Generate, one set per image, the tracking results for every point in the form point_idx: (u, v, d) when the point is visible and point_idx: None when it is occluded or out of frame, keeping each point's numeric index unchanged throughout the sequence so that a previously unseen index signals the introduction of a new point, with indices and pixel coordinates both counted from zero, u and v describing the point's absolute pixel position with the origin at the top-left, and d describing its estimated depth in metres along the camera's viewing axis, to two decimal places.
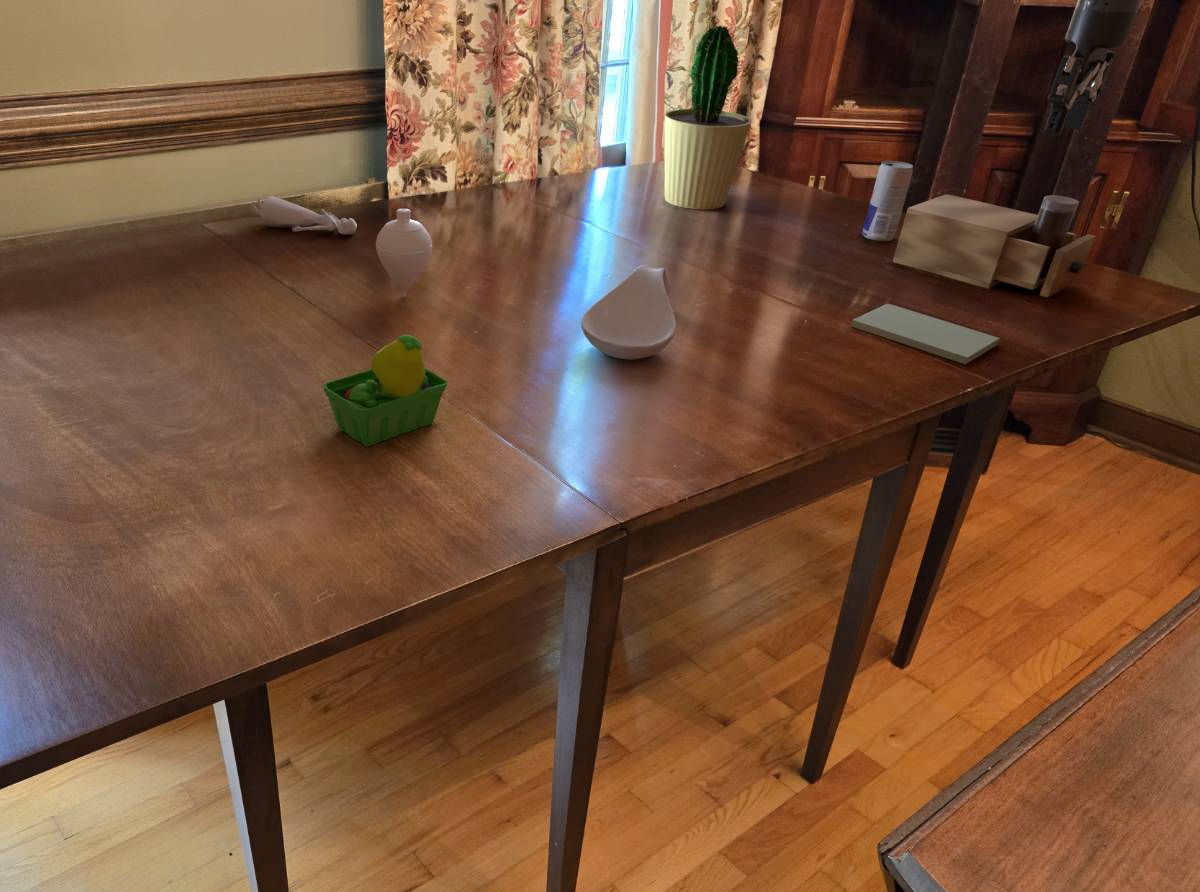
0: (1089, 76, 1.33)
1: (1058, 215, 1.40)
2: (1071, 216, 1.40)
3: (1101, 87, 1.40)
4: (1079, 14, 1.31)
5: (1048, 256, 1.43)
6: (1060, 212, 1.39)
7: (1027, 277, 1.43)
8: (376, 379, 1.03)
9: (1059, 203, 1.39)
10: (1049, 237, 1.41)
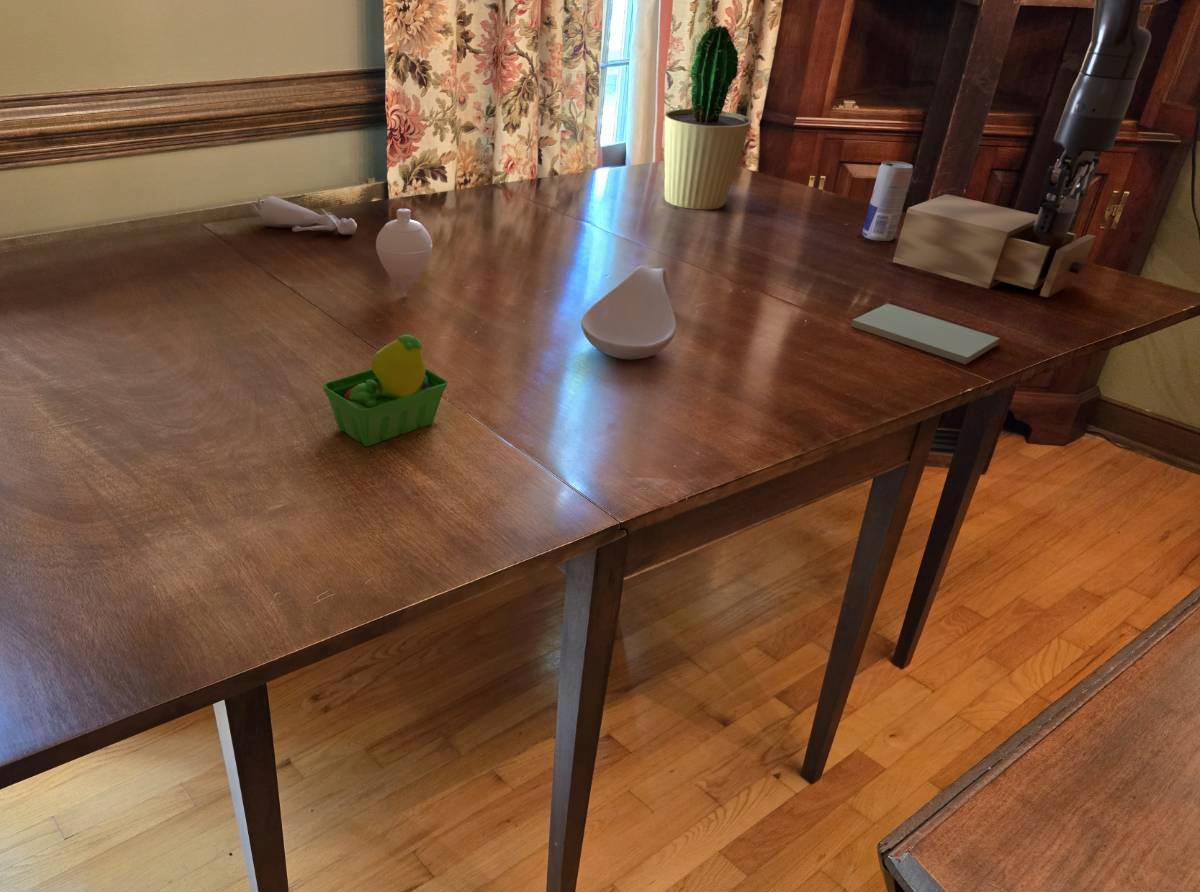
0: (1077, 179, 1.36)
1: None
2: (1071, 216, 1.40)
3: (1084, 191, 1.42)
4: (1067, 118, 1.34)
5: (1048, 256, 1.43)
6: (1060, 212, 1.39)
7: (1027, 277, 1.43)
8: (376, 379, 1.03)
9: None
10: (1049, 237, 1.41)
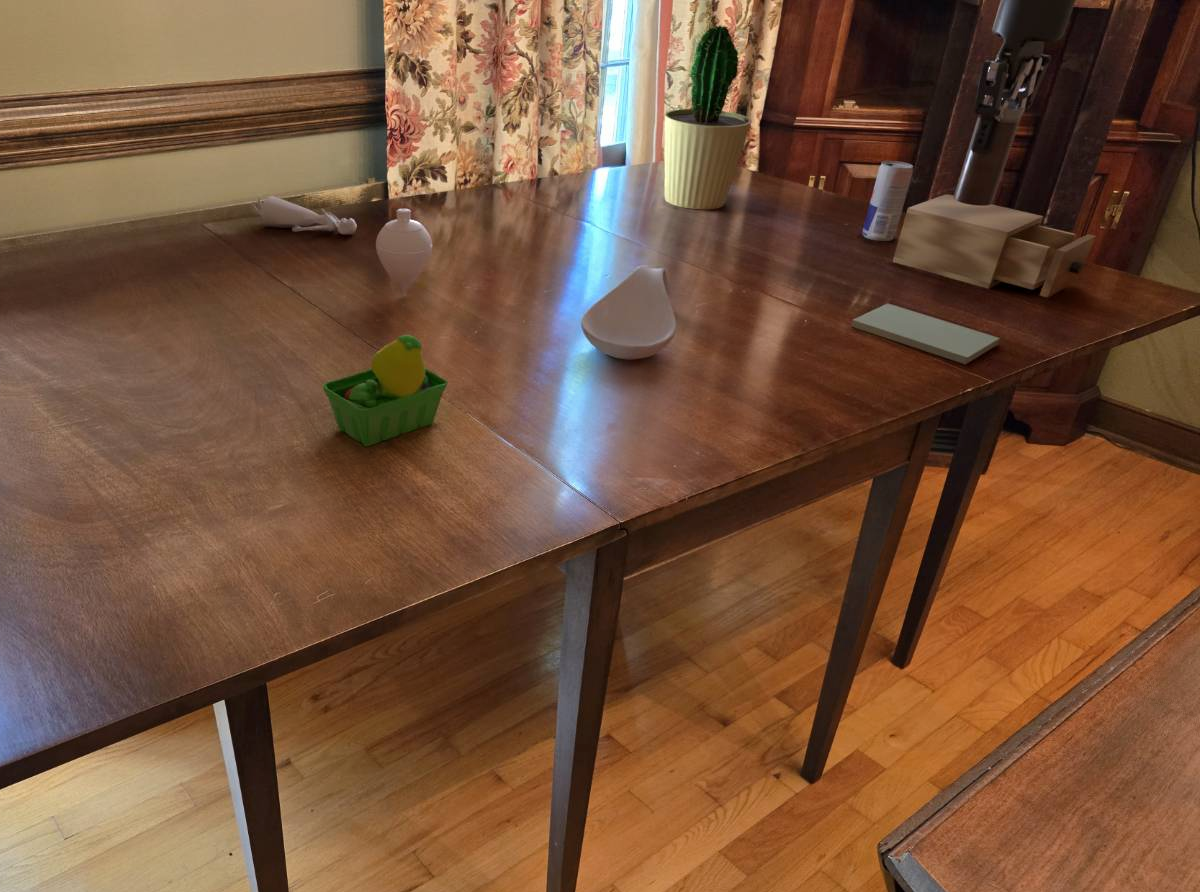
0: (1020, 78, 1.10)
1: None
2: (1014, 127, 1.14)
3: (1032, 97, 1.16)
4: (1007, 0, 1.08)
5: (987, 178, 1.17)
6: (1000, 121, 1.14)
7: (1027, 277, 1.43)
8: (376, 379, 1.03)
9: None
10: None
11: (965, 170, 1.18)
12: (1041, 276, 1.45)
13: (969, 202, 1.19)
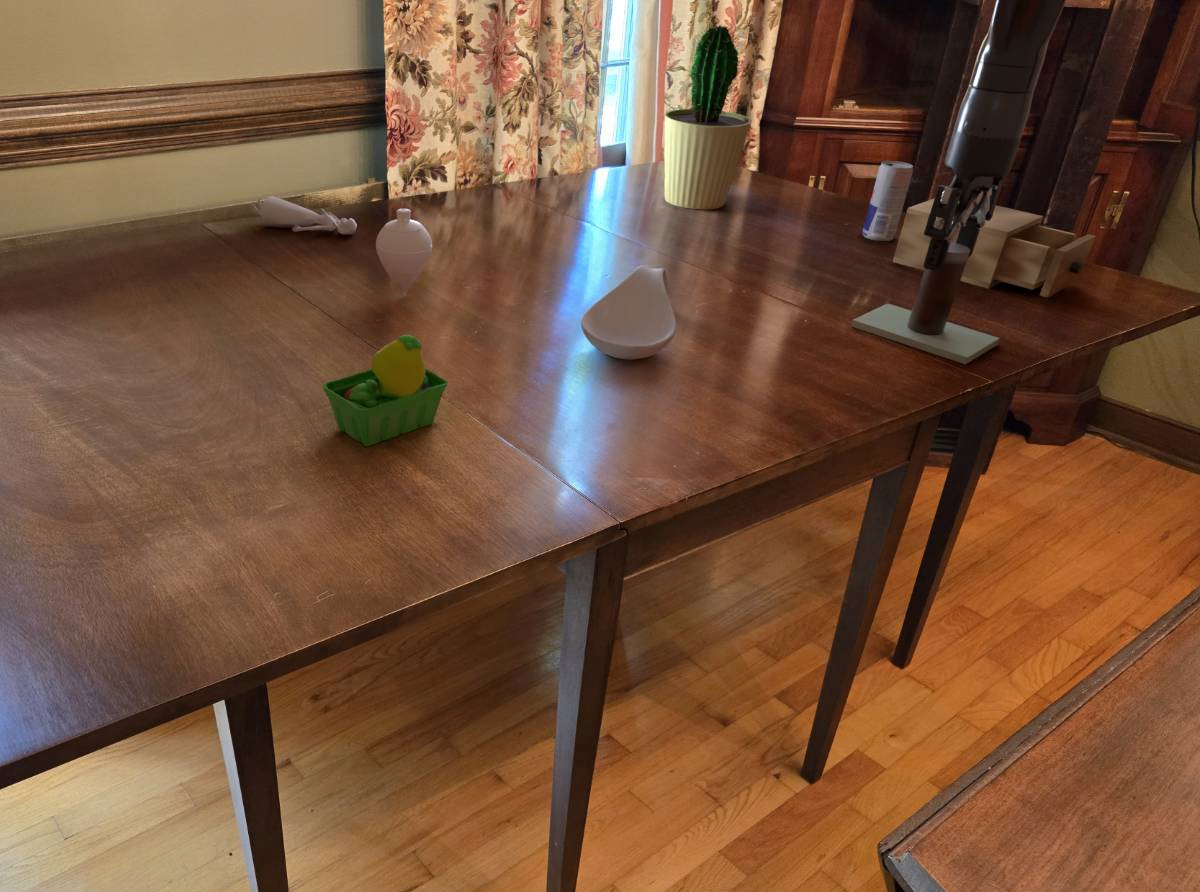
0: (971, 206, 1.17)
1: (947, 265, 1.22)
2: (961, 266, 1.22)
3: (991, 211, 1.23)
4: (956, 138, 1.15)
5: (938, 311, 1.25)
6: (948, 262, 1.22)
7: (1027, 277, 1.43)
8: (376, 379, 1.03)
9: (947, 252, 1.21)
10: (937, 290, 1.24)
11: (918, 302, 1.26)
12: (1041, 276, 1.45)
13: (921, 332, 1.27)
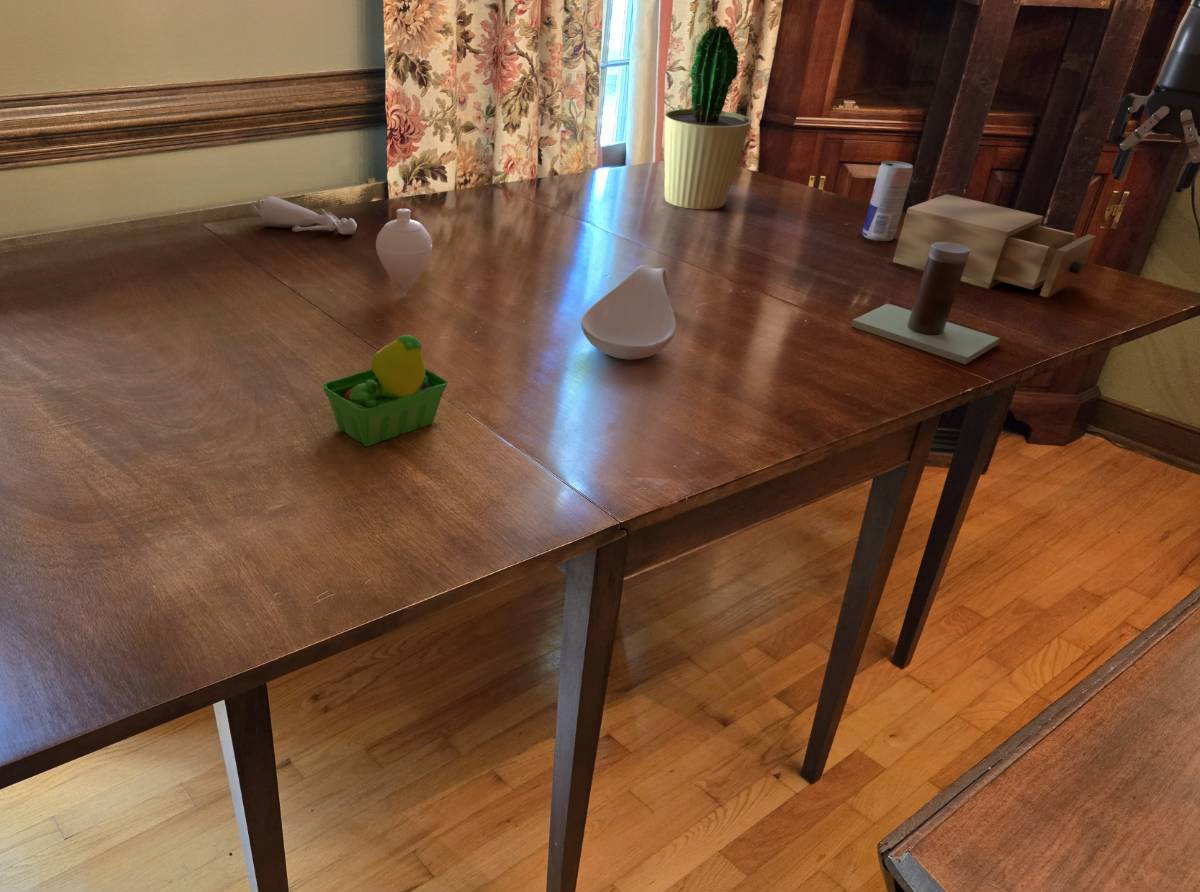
0: (1150, 118, 1.25)
1: (947, 265, 1.22)
2: (961, 266, 1.22)
3: None
4: None
5: (938, 311, 1.25)
6: (948, 262, 1.22)
7: (1027, 277, 1.43)
8: (376, 379, 1.03)
9: (947, 252, 1.21)
10: (937, 290, 1.24)
11: (918, 302, 1.26)
12: (1041, 276, 1.45)
13: (921, 332, 1.27)
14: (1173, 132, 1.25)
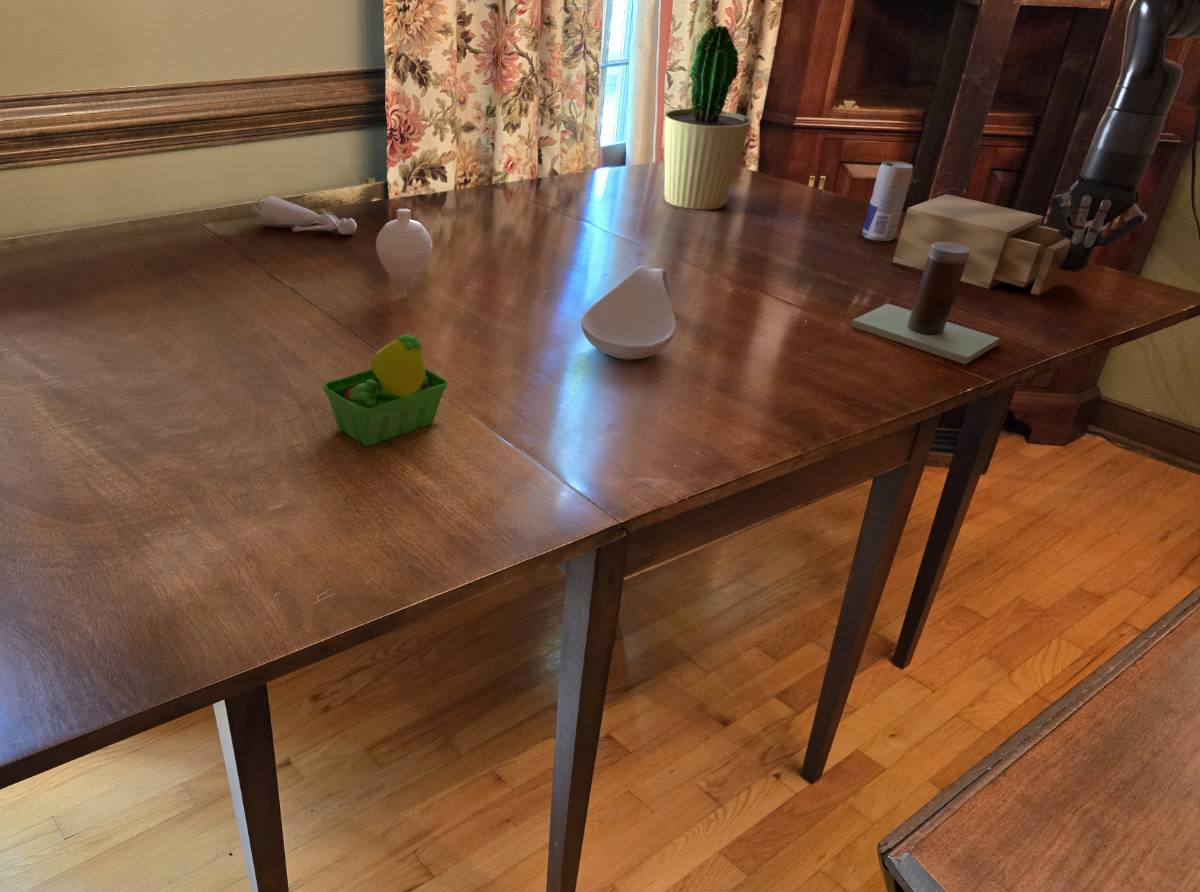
0: (1080, 210, 1.35)
1: (947, 265, 1.22)
2: (961, 266, 1.22)
3: (1107, 238, 1.34)
4: None
5: (938, 311, 1.25)
6: (948, 262, 1.22)
7: (1018, 275, 1.43)
8: (376, 379, 1.03)
9: (947, 252, 1.21)
10: (937, 290, 1.24)
11: (918, 302, 1.26)
12: (1032, 274, 1.46)
13: (921, 332, 1.27)
14: None
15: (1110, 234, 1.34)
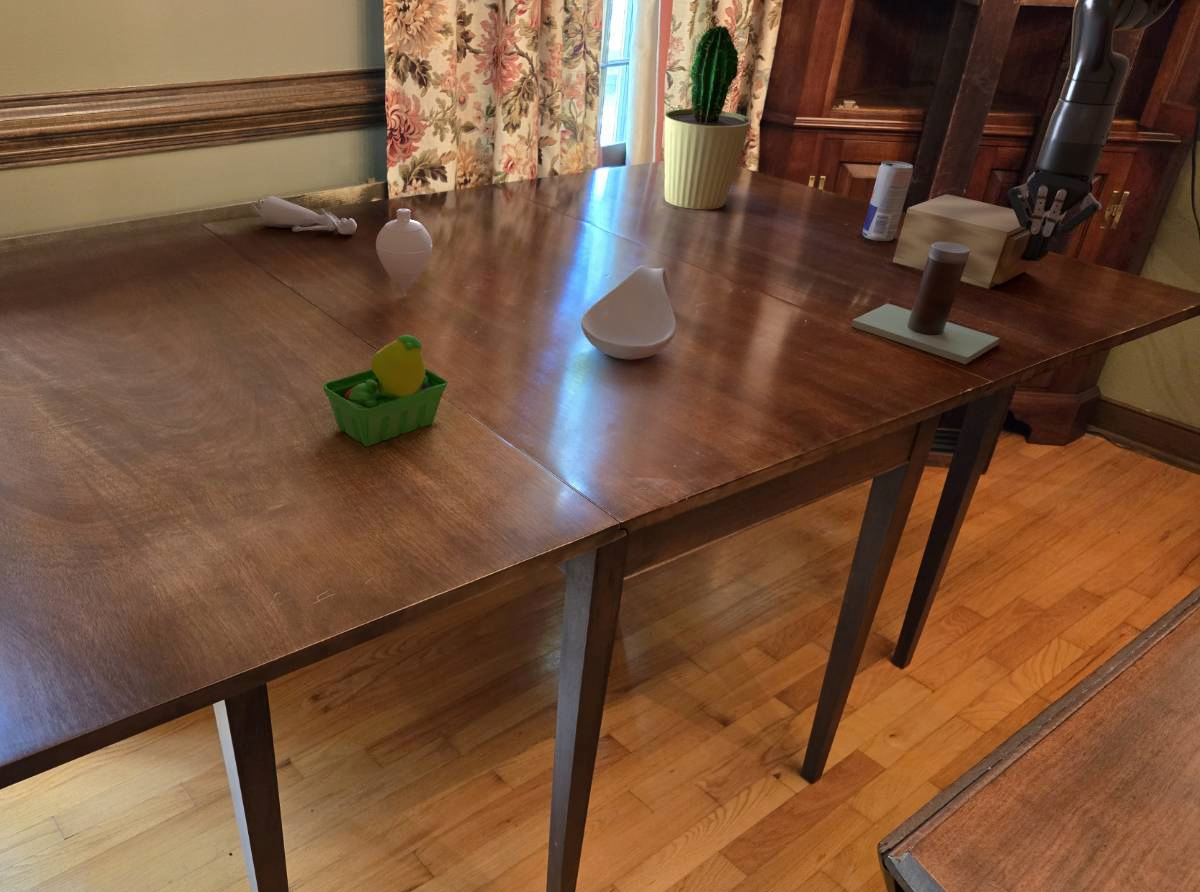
0: (1037, 201, 1.39)
1: (947, 265, 1.22)
2: (961, 266, 1.22)
3: (1064, 227, 1.38)
4: None
5: (938, 311, 1.25)
6: (948, 262, 1.22)
7: None
8: (376, 379, 1.03)
9: (947, 252, 1.21)
10: (937, 290, 1.24)
11: (918, 302, 1.26)
12: None
13: (921, 332, 1.27)
14: None
15: (1067, 223, 1.37)
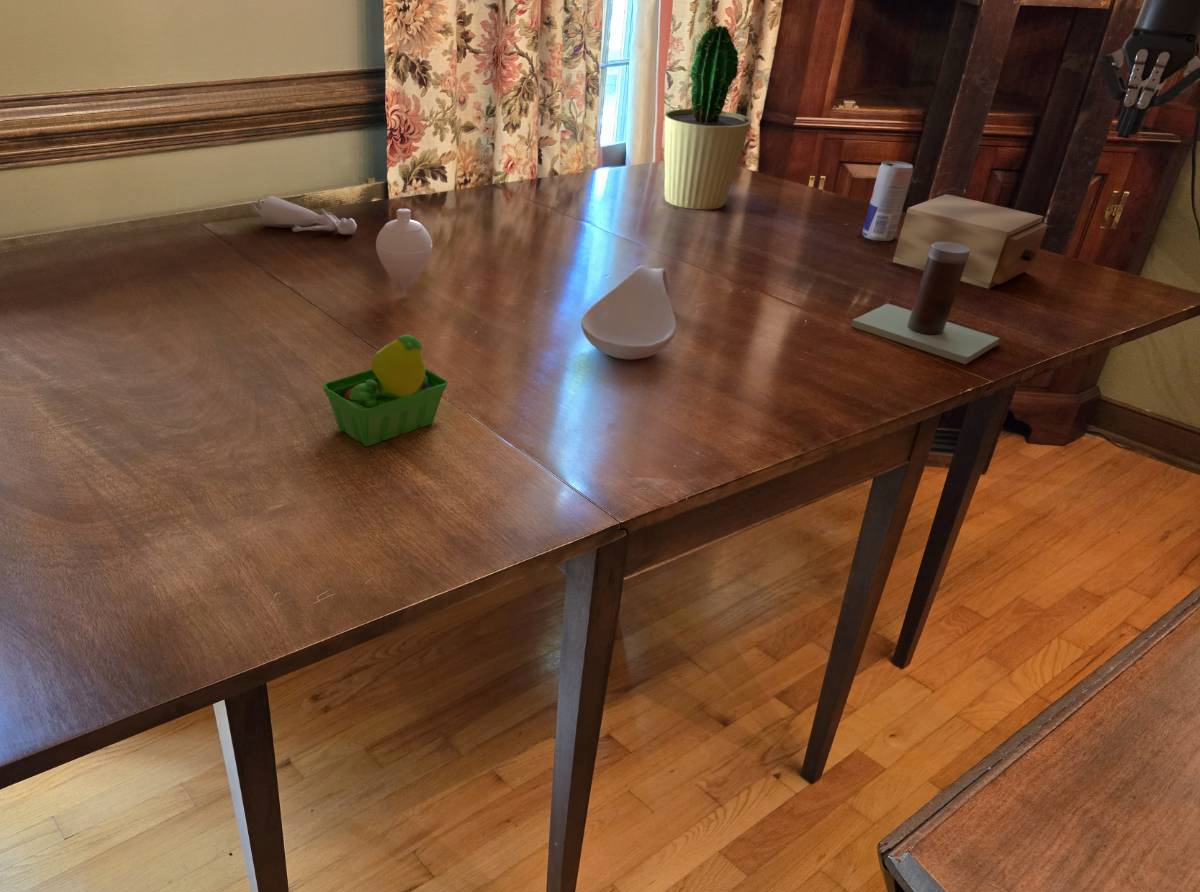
0: (1135, 67, 1.25)
1: (947, 265, 1.22)
2: (961, 266, 1.22)
3: (1164, 96, 1.24)
4: None
5: (938, 311, 1.25)
6: (948, 262, 1.22)
7: None
8: (376, 379, 1.03)
9: (947, 252, 1.21)
10: (937, 290, 1.24)
11: (918, 302, 1.26)
12: None
13: (921, 332, 1.27)
14: None
15: (1168, 91, 1.24)
